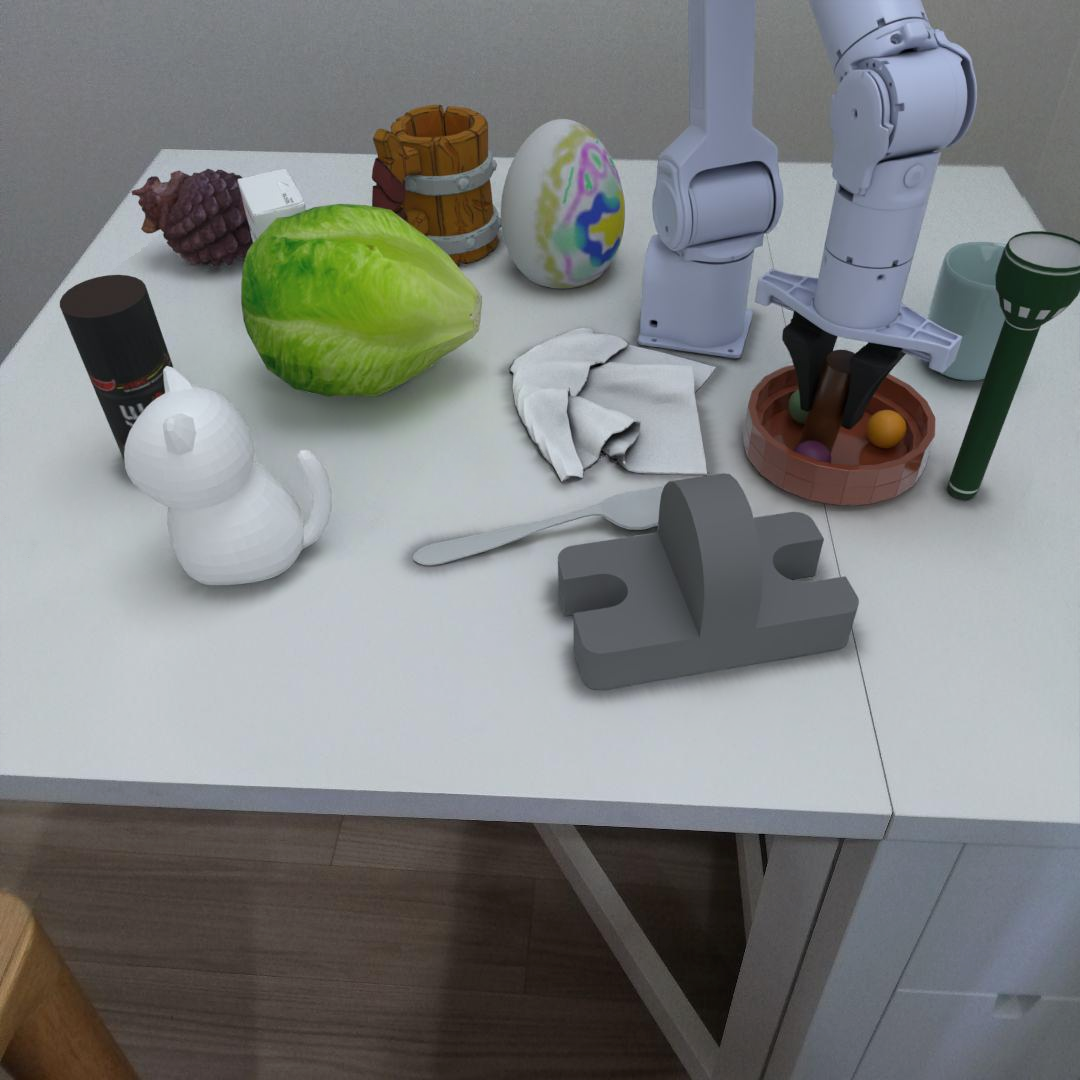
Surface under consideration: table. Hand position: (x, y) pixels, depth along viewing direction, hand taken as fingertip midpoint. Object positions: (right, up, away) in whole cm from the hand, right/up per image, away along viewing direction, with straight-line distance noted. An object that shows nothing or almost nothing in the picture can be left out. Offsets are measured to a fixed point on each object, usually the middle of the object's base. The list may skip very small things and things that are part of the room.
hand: (831, 413), depth 74 cm
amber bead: (+5, -1, +3) cm, 6 cm away
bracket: (-11, -15, -7) cm, 20 cm away
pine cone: (-55, +21, +31) cm, 66 cm away
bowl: (+1, -3, +4) cm, 5 cm away
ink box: (-46, +14, +23) cm, 54 cm away
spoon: (-21, -9, -1) cm, 23 cm away
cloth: (-16, +1, +9) cm, 19 cm away
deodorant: (-53, -3, +6) cm, 53 cm away
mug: (-33, +21, +30) cm, 49 cm away
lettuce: (-37, +5, +14) cm, 40 cm away
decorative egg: (-20, +18, +27) cm, 38 cm away
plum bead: (-1, -3, +1) cm, 4 cm away
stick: (0, -2, +3) cm, 4 cm away
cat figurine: (-43, -11, -2) cm, 44 cm away
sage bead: (0, +1, +5) cm, 6 cm away
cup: (+15, +6, +13) cm, 20 cm away
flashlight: (+10, -6, +1) cm, 12 cm away
